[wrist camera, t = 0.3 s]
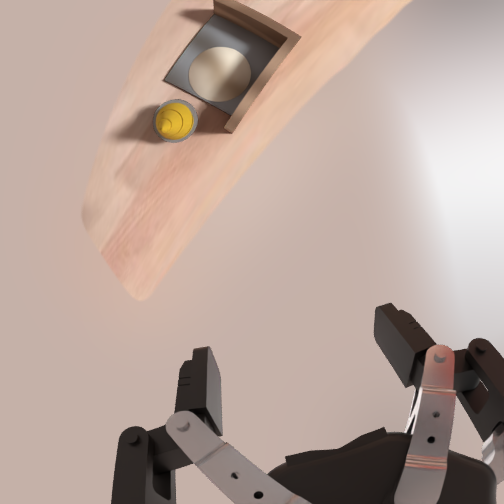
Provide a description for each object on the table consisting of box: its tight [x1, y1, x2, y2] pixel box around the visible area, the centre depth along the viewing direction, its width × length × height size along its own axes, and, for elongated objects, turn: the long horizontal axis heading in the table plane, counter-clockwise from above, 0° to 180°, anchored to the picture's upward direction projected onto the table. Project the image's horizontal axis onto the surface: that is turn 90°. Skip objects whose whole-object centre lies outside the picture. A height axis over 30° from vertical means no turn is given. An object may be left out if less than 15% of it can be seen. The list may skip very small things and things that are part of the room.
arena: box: [165, 0, 301, 133], centre depth 29 cm, size 15×12×5 cm
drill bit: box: [153, 99, 198, 143], centre depth 29 cm, size 5×5×10 cm
